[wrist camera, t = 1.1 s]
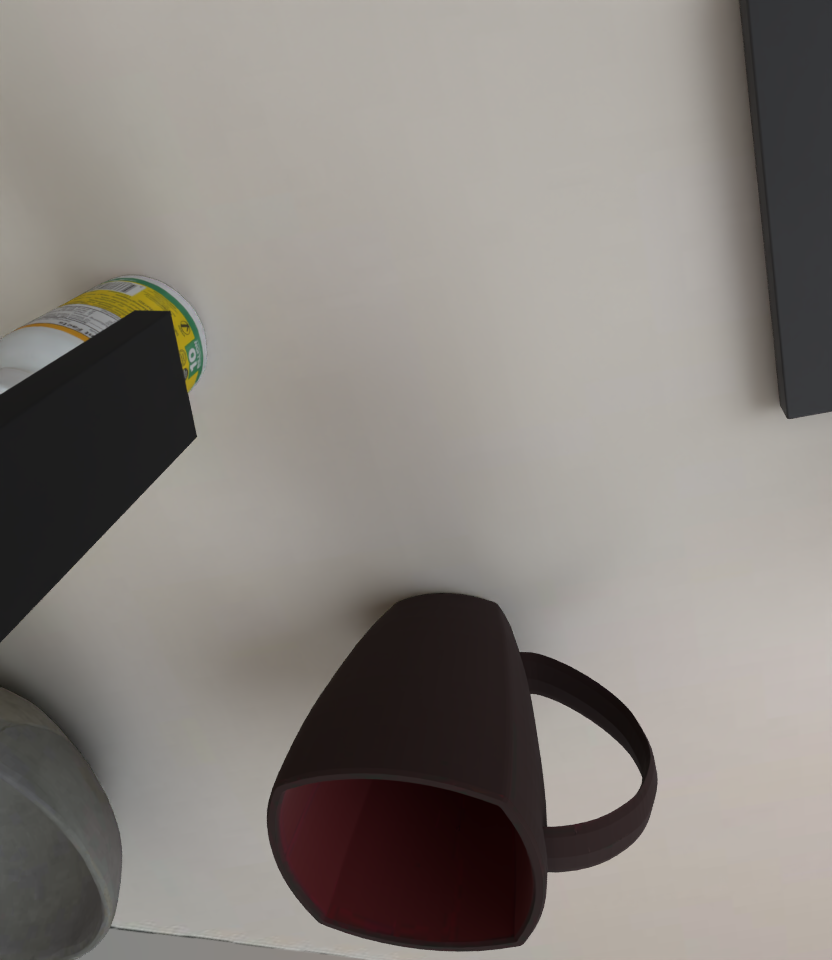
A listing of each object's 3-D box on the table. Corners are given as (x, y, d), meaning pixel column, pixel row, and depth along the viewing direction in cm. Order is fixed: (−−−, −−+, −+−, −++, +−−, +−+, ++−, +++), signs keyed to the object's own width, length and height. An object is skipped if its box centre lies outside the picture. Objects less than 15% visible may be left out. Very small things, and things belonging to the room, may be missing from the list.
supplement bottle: (130, 244, 30) (-38, 322, 22) (237, 338, 31) (115, 446, 23) (68, 335, 33) (-102, 436, 25) (169, 420, 34) (39, 542, 26)
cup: (335, 556, 36) (238, 763, 26) (644, 554, 33) (673, 790, 23) (369, 710, 41) (299, 937, 31) (642, 722, 38) (665, 978, 27)
